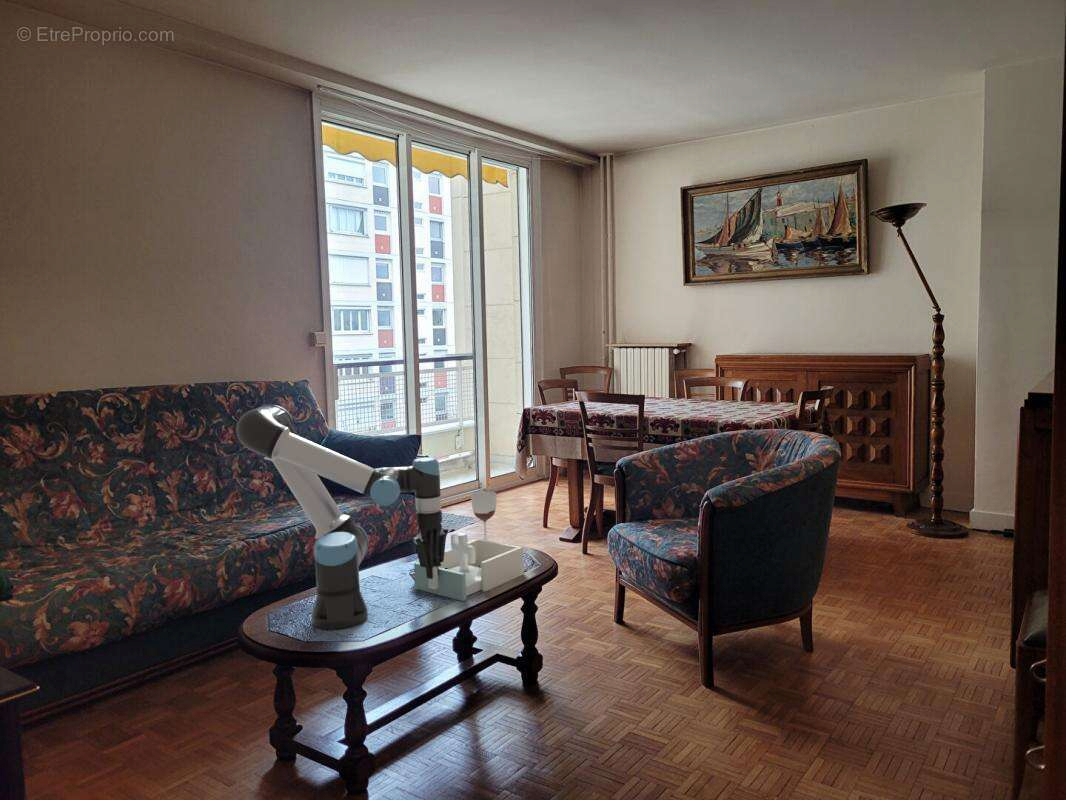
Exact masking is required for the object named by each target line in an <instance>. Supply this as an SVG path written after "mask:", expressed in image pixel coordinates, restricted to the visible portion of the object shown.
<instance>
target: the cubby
mask: <svg viewBox="0 0 1066 800" xmlns="http://www.w3.org/2000/svg"><path fill="white" fill-rule="evenodd" d="M467 543H468V545H470V546H473V547H474V548H475V555H476V562H475V563H473V564H470V563H469V556H468V565H470V566H474V567H478V568H481V581H482V589H481V591H482V592H484V593H485V592H487V591H489V590H492V589H494V588H496V587H498V586H500V585H501V586H502V585H503V584H506V583H507V582H510V581H512V580H514V579H518V578H519V577H520V576H523V575H524V573H525V571H524V548H523V546H517V545H512V544H507V543H503V542H497V541H492V540H484V539H483V538H482V539H481V538H476V539H474V540H470V541H468V542H467ZM439 558H440V557H439ZM440 564H441V566H439V567H440V568H448V569H450V568H453V567H455V566H458V565H459V553H458V552H456V551H453V550H452V548H448V549H445V552H444V561H443V562H441V563H440Z"/></svg>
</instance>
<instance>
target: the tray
mask: <svg viewBox="0 0 1066 800" xmlns="http://www.w3.org/2000/svg"><path fill="white" fill-rule="evenodd" d="M413 566H414V570H413V571H414V589H416V590H420V591H422V592H427V593H430V594H433V595H434V594H435V595H438V596H443V597H446V598H450V599H454V600H458V601H462V602H464V601H466V600H467V596H469V595H472V594H475V593H477V592H480V591H482V581H481V567H479V568H480V570H479V572H478V574H477V575H476V577H475V579H474V580H472V581H470V582H467V583H466V579H465V573H462V572H458V571H453V570H449V569H445V568H440V567H439V576H438V587H439V588H437V589H431V588H429V586H428V578H427V575H426V574H427V573H426V568H425V567H421V566H420V563H419V561H417V562H414V563H413ZM458 566H459V565H458ZM455 567H457V566H455ZM453 568H454V567H453ZM450 569H451V568H450Z"/></svg>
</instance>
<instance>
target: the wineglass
mask: <svg viewBox="0 0 1066 800" xmlns="http://www.w3.org/2000/svg"><path fill="white" fill-rule="evenodd" d="M470 498H471V508H472V512H473V513H474V514H473V515H474V516H475V517H476V518H477V519H479V520H481V522H483V537H484V538H483V540H487V538H488V536H487V535H488V534H487V521H488V520H490V519H492V517H493V516H494V515H495V513H496V509H497V492H495V491H493V490H492V491H491V490H490V491H488V490H483V491H481V490H480V491H477V492H473V493H471V494H470ZM487 541H488V540H487Z"/></svg>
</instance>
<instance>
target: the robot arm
mask: <svg viewBox="0 0 1066 800" xmlns="http://www.w3.org/2000/svg"><path fill="white" fill-rule="evenodd" d="M294 426H295V425H294V420H293V417H292V415H291V414H290V412H289V411H288V410H287V409H285V408H284V407H282V406H280V405H276V404H264V405H261V406H259V407H256V408H254V409H251V410H248V411H247V412H244V413H243V414H242V415H241V416H240V418H239V420H238V422H237V424H236V436H237V439H238V441H239V442H240V443H241V445H242V446H243V447H244V448H246V449H248V450H249V451H252V452H254V453H255V454H259V455H260V456H261V457H262V458H263V460H267V461H271V462H272V463H273V464H274V467H275V468H276V470H277V471H278V473H279V474H280V476H281V477H282V479H283V480H284V482H285V484H286V485H287V487H288V488H289V489H290V491H291V493H292V494H293V496H294V498H295V499H296V500H297V502H298V503H299V505H300V506H301V508H302V509H303V511H304V513H305V514H306V516H307V517H308V519H309V521H310V523H312V525H313V527H314V529H315V530H316V531H315V536H314V538H315V540H316V541H315V542H314V546H313V547H314V549H313V558H314V569H315V570H314V571H315V582H316V584H315V585H316V598H315V601H314V604H313V608H312V612H311V624H312V626H314V627H315V626H316V627H315V628H317V627H319V628H318V629H321V628H323V629H322V630H340V629H341V630H342V629H348V628H351V627H354V626H357V625H359V624H361V623H363V622H365V621H366V620H367V619H368V607H367V604H366V602H365V599H364V596H363V595H362V591H361V590H360V589H361V588H360V570H359V567H360V565H361V563H362V561H363V560H364V559H365V558H366V555H367V552H368V549H369V538H368V535H367V533H366V531H365V530H364V529H363V527H361V526H360V525H358V524H356V523H355V522H354V521H353V519H352V517H351V516H350V514H344V513H342V511H341V510H340V508H339V506H338V504H337V503H336V502H335V500H334V498H333V497H332V496H331V494H330V492H329V491H328V488H326V486H325V485H324V483H323V482H322V480H321V478H320V477H323V478H324V479H328V480H330V481H332V482H334V483H336V484H339V485H341V486H343V487H346V488H348V489H351V490H353V491H355V492H358V493H360V494H363V495H365V496H367V497H369V498H371V500H372V501H373V502H374V503H375V504H376V505H379V506H383V507H385V506H389V505H392V504H393V503H394V502H395V501H397V500H398V498H399V497H400V496H401V493H412V492H414V497H415V498H414V500H415V501H414V503H415V511H416V513H415V516H416V524H417V526H418V529H417V534H416V536H415V537H411V542H412V543H413V545H414V547H415V551H416V555H417V558H418V563H420V566H421V567H425V568H426V573H427V574H426V575H427V578H428V586H429V588H431V589H437V588H439V587H438V576H439V566H441V564H440V563H441V562H443V561H444V552H445V550H446V543H447V542H446V540H447V536H448V533H449V529H448V528H443V526H442V522H443V513H442V510H441V509H442V497H441V496H442V495H441V494H442V493H441V477H440V467H439V461H438V460H437V458H435V457H419V458H416V459H414V460H413V461H412V465H410V466H409V465H408V466H391V467H390V466H387V467H386V466H383V467H377V468H376V467H375V468H373V467H371V466H369V465H367V464H364V463H361V462H359V461H357V460H355V459H353V458H350V457H348V456H346V455H343V454H340V453H339V452H336V451H334V450H332V449H330V448H327V447H324V446H322V445H320V444H318V443H315V442H313V441H311V440H309V439H306V438H304V437H302V436H299V434H298V432H297V431H296V429H295V427H294ZM319 476H320V477H319ZM439 557H440V558H439Z"/></svg>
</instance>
